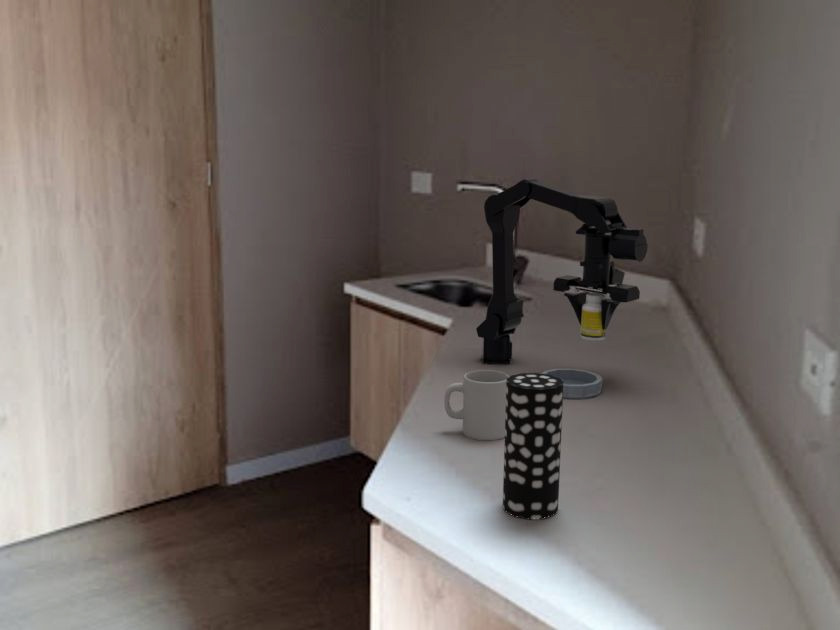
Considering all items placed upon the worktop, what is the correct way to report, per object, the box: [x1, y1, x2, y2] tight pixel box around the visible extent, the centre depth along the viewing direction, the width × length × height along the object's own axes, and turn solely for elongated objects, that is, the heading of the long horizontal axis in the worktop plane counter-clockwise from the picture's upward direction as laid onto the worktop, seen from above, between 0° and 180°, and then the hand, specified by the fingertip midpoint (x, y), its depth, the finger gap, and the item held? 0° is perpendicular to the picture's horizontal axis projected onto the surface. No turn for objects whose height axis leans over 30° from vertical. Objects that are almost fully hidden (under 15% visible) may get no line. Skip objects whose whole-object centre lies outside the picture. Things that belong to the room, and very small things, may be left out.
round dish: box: [541, 368, 603, 400], centre depth 197 cm, size 13×13×3 cm
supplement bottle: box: [580, 292, 607, 341], centre depth 201 cm, size 5×5×10 cm
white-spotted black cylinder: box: [502, 372, 564, 520], centre depth 137 cm, size 8×8×20 cm
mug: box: [443, 369, 510, 441], centre depth 170 cm, size 12×8×11 cm
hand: (593, 327), depth 201 cm, fingers closed on supplement bottle, 5 cm apart
